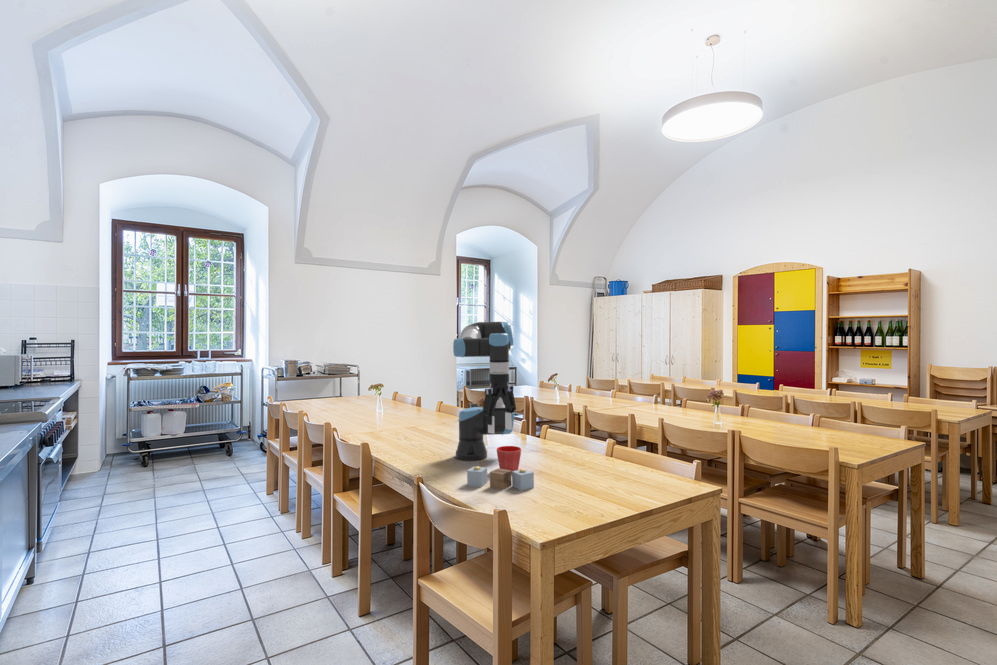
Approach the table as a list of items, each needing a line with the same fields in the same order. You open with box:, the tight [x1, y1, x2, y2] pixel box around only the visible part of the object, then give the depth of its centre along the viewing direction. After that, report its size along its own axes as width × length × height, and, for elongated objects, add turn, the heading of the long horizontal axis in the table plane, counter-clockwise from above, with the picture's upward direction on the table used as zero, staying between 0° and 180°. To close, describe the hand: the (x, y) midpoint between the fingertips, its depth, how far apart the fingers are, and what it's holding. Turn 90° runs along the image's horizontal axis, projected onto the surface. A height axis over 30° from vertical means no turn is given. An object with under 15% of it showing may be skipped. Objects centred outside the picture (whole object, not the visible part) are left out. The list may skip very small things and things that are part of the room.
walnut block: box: [489, 468, 512, 491], centre depth 194 cm, size 6×6×6 cm
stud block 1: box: [466, 465, 488, 488], centre depth 198 cm, size 6×6×7 cm
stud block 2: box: [511, 468, 535, 492], centre depth 193 cm, size 6×6×7 cm
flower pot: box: [496, 445, 522, 474], centre depth 216 cm, size 11×11×10 cm
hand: (500, 431), depth 194 cm, fingers open, 9 cm apart
